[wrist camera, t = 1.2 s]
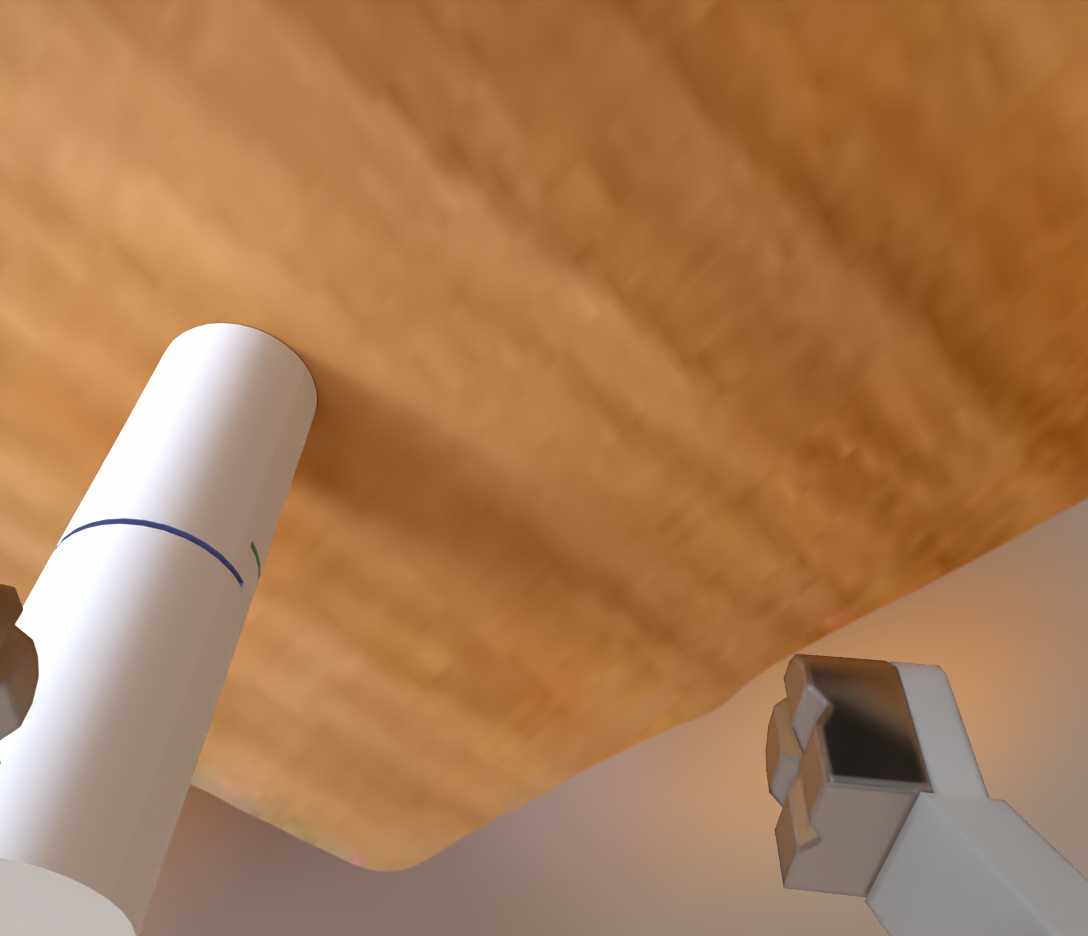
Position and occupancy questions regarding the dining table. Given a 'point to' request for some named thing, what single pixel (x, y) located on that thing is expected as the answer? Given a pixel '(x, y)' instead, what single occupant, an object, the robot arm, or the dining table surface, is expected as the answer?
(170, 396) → the cylindrical container
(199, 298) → the dining table surface
